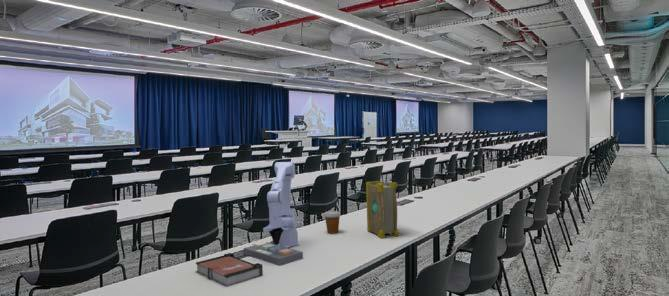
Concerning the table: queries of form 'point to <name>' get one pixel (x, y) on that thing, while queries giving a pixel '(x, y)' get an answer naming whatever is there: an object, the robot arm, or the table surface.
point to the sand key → (259, 244)
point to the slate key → (275, 249)
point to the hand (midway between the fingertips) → (276, 244)
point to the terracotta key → (285, 252)
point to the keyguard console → (273, 255)
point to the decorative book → (381, 208)
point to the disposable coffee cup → (332, 221)
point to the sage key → (267, 247)
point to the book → (229, 269)
